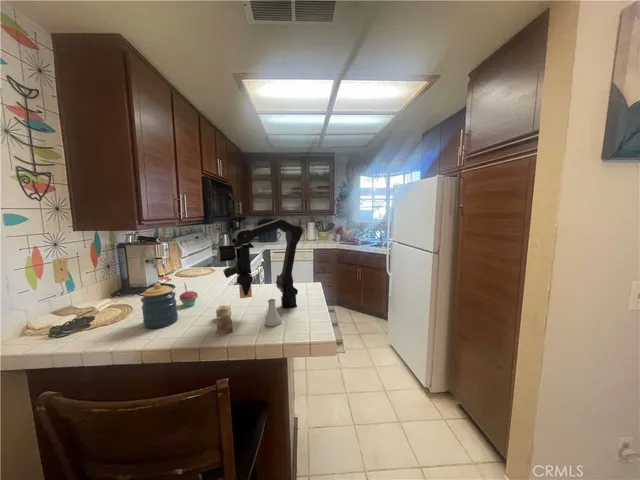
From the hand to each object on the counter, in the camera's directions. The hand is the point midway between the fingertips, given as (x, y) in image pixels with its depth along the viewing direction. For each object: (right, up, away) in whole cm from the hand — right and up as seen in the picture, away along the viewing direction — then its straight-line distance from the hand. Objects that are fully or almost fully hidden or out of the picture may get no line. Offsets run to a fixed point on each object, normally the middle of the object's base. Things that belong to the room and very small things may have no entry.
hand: (245, 293), depth 118 cm
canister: (-36, -13, -2) cm, 38 cm away
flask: (+13, -11, -6) cm, 18 cm away
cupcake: (-34, -10, +18) cm, 40 cm away
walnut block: (-5, -13, -13) cm, 18 cm away
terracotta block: (0, -1, 0) cm, 1 cm away
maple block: (-10, -11, 0) cm, 15 cm away
